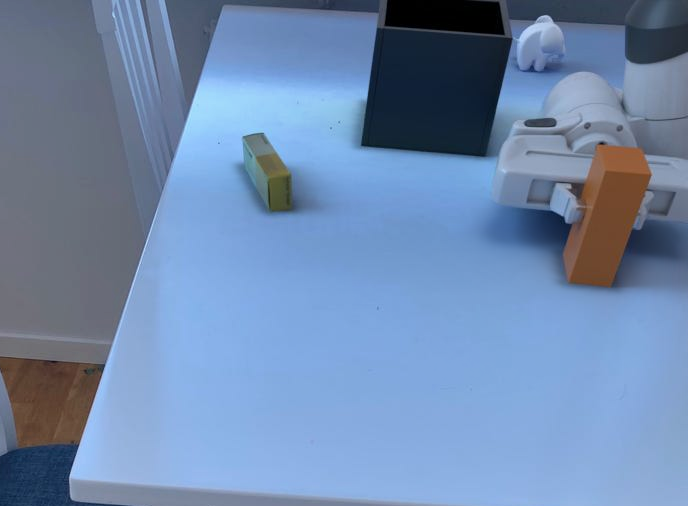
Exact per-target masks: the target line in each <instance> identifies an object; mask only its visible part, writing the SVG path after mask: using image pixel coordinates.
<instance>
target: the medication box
mask: <svg viewBox="0 0 688 506" xmlns="http://www.w3.org/2000/svg"><path fill="white" fill-rule="evenodd" d="M241 139H242V140H241V141H242V151H243V166H244V168H245V170H246V172H247V174H248V176H249V178H250V180H251V181H252V183H253V185H254V187H255V188H256V190H257V192H258V193H259V195H260V197H261V199H262V201H263V202H264V204H265V206H266V208H267V210H268V211H269V212H282V211H283V212H285V211H293V189H292V188H293V187H292V173H291V171H290V170H289V169H288V168H287V166H286V164H285V163H284V161H283V160H282V158H281V157H280V155H279V154H278V152H277V151H276V149H275V148H274V146H273V145H272V143H271V141H270V140H269V139H268V137H267V136H266V134H265V132H256V133H255V132H254V133H250V134H247V135H242V138H241Z"/></svg>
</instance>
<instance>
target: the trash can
mask: <svg viewBox="0 0 688 506" xmlns="http://www.w3.org/2000/svg"><path fill="white" fill-rule="evenodd" d="M513 37H514V36H513V32H512V25H511V21H510V15H509V11H508V6H507V0H379V7H378V15H377V21H376V29H375V37H374V42H373V43H374V44H373V52H372V59H371V66H370V73H369V81H368V88H367V96H366V103H365V111H364V117H363V125H362V133H361V139H360V140H361V141H360V147H366V148H376V149H377V148H378V149H387V150H400V151H411V152H423V153H434V154H446V155H458V156H468V157H478V158H479V157H481V158H486V155H487V151H488V148H489V143H490V139H491V136H492V135H491V134H492V130H493V126H494V122H495V119H496V113H497V109H498V105H499V101H500V97H501V91H502V87H503V82H504V78H505V75H506V70H507V66H508V62H509V57H510V53H511V48H512V44H513V40H514V39H513Z"/></svg>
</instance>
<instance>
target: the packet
mask: <svg viewBox="0 0 688 506" xmlns="http://www.w3.org/2000/svg"><path fill="white" fill-rule="evenodd" d="M651 176H652V173H651V171H650V168H649V166H648V163H647V161H646V158H645V155H644V153H643V150H642V148H632V147H621V146H609V145H597V148H596V151H595V154H594V157H593V160H592V163H591V167H590V170H589V173H588V176H587V179H586V182H585V186H584V189H583V192H582V195H581V198H580V199H585V200H586V204H587V209H586V213H585V215H584V216H583V217H584V219H583V222H582V224H571V227H570V230H569V232H568V233H569V234H568V236H567V240H566V243H565V246H564V249H563V252H562V258H563V263H564V268H565V273H566V278H567V283H569V284H574V285H575V284H576V285H584V286H595V287H605V288H612V285H613V283H614V280H615V278H616V276H617V275H616V274H617V272H618V270H619V266H620V264H621V261H622V259H623V256H624V252H625V250H626V248H627V244H628V241H629V239H630V237H631V233H632V231H633V229H632V228H633V225H634V223H635V220H636V217H637V214H638V212H639V209H640V206H641V203H642V201H643V198H644V195H645V192H646V190H647V187H648V184H649V181H650V179H651Z"/></svg>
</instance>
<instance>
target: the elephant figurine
mask: <svg viewBox="0 0 688 506" xmlns="http://www.w3.org/2000/svg"><path fill="white" fill-rule="evenodd" d="M513 40H514V41H516V42H517V44H516V45H517V46H516V63H517V65H518V67H519V69H520V71H523V72H526V71H529V70H530V68H531V66H532V67H533V70H534V71H535V72H538V73H540V72H543V70H544V69H545V67H546V64H547V62H548V61H549V59H550V58H551V57H552V56H557V57H552V58H551V62H552V63H553V64H555V65H556V64H559V63H560V62H561V61H563V60H564V57H565V58H567V57H568V56H567V55H566V53H567V49H566V46H565V37H564V33H563V31H562V29H561V27H559V25H557V24H556V23H554V20H553V19H552V17H551V16H550V15H541V16H539V17H538V18H537V19H536V20H535V22H534V24H531V25H530V26H528V27H527V28H525V29H524V30H523V31H522V33H521V34H520V36H519V38H515V37H514V36H513Z"/></svg>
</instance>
